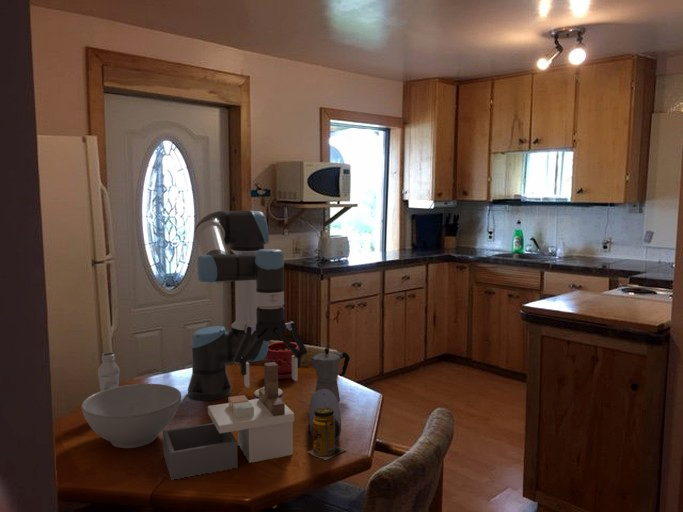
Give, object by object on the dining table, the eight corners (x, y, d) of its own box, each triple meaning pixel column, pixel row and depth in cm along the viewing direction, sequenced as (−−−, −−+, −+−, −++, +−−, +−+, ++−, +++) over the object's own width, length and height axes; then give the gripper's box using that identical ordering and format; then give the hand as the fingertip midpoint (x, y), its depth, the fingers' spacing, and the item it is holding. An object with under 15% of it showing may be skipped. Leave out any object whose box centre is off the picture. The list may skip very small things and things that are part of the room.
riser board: (208, 447, 159) (207, 406, 158) (277, 435, 167) (277, 395, 166) (220, 471, 146) (219, 425, 144) (294, 456, 154) (294, 413, 152)
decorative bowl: (140, 415, 183) (139, 378, 182) (201, 432, 170) (200, 393, 168) (62, 446, 160) (60, 404, 159) (126, 469, 147) (124, 423, 145)
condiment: (306, 452, 156) (306, 410, 155) (327, 443, 162) (327, 402, 161) (325, 461, 151) (325, 417, 150) (347, 450, 158) (347, 408, 156)
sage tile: (233, 412, 153) (232, 403, 153) (249, 410, 155) (249, 401, 155) (237, 418, 149) (236, 409, 149) (253, 416, 151) (253, 406, 151)
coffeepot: (315, 406, 190) (315, 354, 189) (304, 398, 199) (303, 347, 197) (355, 399, 198) (356, 348, 196) (342, 390, 206) (343, 342, 204)
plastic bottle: (126, 413, 184) (123, 352, 182) (109, 420, 178) (107, 358, 176) (111, 410, 187) (109, 350, 185) (94, 417, 181) (92, 355, 179)
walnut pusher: (259, 399, 163) (258, 358, 162) (269, 397, 165) (268, 357, 163) (273, 416, 151) (273, 371, 149) (284, 414, 152) (284, 370, 151)
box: (163, 455, 154) (163, 430, 154) (224, 445, 161) (224, 421, 160) (171, 480, 141) (170, 453, 140) (237, 468, 147) (237, 441, 147)
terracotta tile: (228, 406, 158) (228, 397, 158) (244, 403, 160) (244, 394, 160) (232, 411, 154) (232, 402, 154) (248, 409, 156) (248, 400, 156)
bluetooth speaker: (308, 417, 181) (308, 387, 180) (338, 417, 181) (338, 386, 180) (309, 449, 158) (308, 414, 157) (342, 448, 159) (342, 413, 158)
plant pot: (269, 370, 231) (269, 341, 230) (302, 371, 229) (301, 341, 228) (262, 380, 218) (261, 349, 217) (296, 381, 216) (296, 350, 215)
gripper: (227, 312, 146) (229, 393, 148) (318, 305, 156) (318, 380, 159) (221, 307, 153) (222, 384, 155) (308, 300, 163) (309, 373, 165)
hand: (271, 382), depth 157 cm, fingers open, 13 cm apart
